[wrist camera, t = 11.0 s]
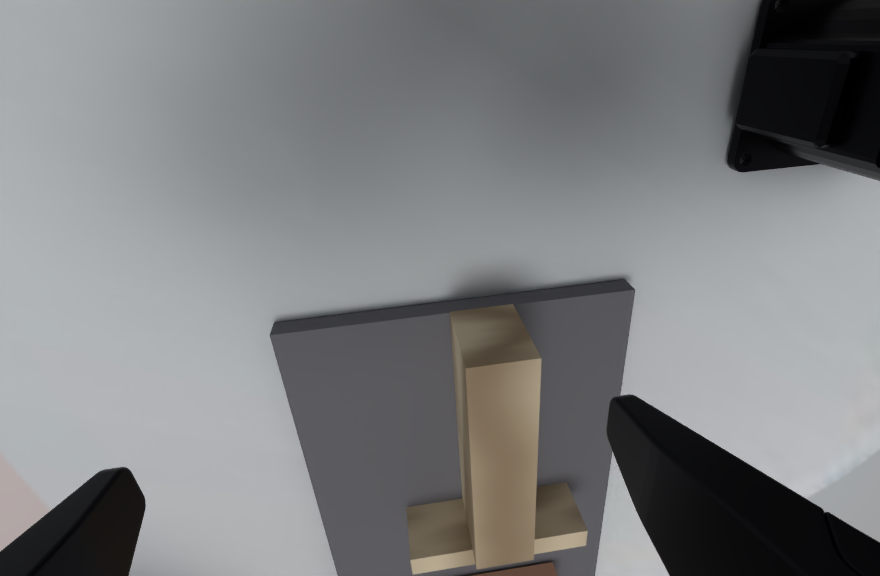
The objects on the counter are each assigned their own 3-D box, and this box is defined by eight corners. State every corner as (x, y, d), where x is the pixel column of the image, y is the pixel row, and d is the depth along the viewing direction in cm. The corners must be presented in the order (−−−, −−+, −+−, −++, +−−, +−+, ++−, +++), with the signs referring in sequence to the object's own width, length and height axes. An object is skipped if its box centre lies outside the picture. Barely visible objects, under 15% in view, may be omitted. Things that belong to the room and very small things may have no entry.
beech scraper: (581, 295, 21) (623, 347, 18) (565, 496, 28) (593, 564, 24) (377, 321, 21) (379, 380, 17) (408, 521, 27) (414, 595, 23)
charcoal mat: (624, 279, 22) (635, 289, 21) (582, 607, 35) (588, 622, 34) (274, 322, 21) (269, 335, 20) (362, 646, 34) (362, 663, 33)
